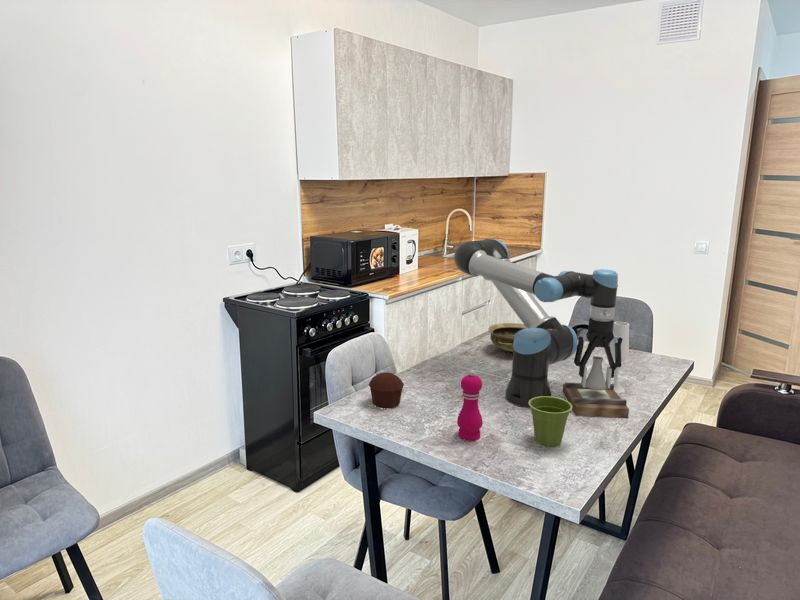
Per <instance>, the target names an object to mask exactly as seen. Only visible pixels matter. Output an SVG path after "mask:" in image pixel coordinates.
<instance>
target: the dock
mask: <svg viewBox="0 0 800 600" xmlns="http://www.w3.org/2000/svg"><path fill="white" fill-rule="evenodd" d="M613 384H614V383H610V388H606V389H604V390H592V389H589V388H586V387H585V388H583V387H582V385H581V382H568V381H567V382H564V383H562V391H561V392H562V393H563V396H564V398H565V400H566V401H568V402H570V403H571V404H572V410H571V411H573V414H574V415H575V416H576V417H594V418H598V417H599V418H617V419H618V418H621V419H629V413H630V408H629V406H628V405H627V403H628V401H627V399H626V398H625V399H624V398H623V399H622V398H621V397H620V396H619V393H616V392H615V391H614V385H613Z"/></svg>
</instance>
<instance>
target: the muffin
mask: <svg viewBox="0 0 800 600" xmlns="http://www.w3.org/2000/svg"><path fill="white" fill-rule="evenodd" d="M368 386H369V388H370V396H371V401H372V405H374V407H375V408H378V407H379V408H380V409H382V408H383V410H384V408H385V410H386V408H389V409H395V408H397V407H399V405H400V403H401V399H402V395H403V394H402V393H403V388H404V386H405V384H404V382H403V380H402V379H401V378H400V377H399V376H398V375H396V374H394V373H392V372H389V371H387V372H379V373H377V374H376V375H373V377H372V378H371V379H370V381H369V383H368ZM396 406H397V407H396ZM379 408H378V409H379Z"/></svg>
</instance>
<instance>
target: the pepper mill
mask: <svg viewBox="0 0 800 600" xmlns="http://www.w3.org/2000/svg"><path fill="white" fill-rule="evenodd" d="M482 382H483V381H482V379H481V377H479V376H478V375H476V372H475V371H474V370H473V369H470V370H469V371H468V374H466V375H465V376H463V377H462V378H461V380H460V388H461V390H462V391H461V396H462V398H463V403H462V406H461V409H460V412H459V413H458V415H457V418H456V419H457V420H456V424H457V426H458V427H459V428H458V431H457V433H458V437H459V439H461V440H464V441H467V440H468V442H473V441H478V440H479V439H480V438H481V430H480V429H481V428H482V427H483V417H482V414H481V412H480V408H479V399H480V398H481V392H480V391H481V390H482V387H483V383H482ZM477 439H478V440H477Z"/></svg>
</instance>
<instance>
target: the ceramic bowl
mask: <svg viewBox="0 0 800 600" xmlns="http://www.w3.org/2000/svg"><path fill="white" fill-rule="evenodd" d="M526 328H527V327H526V326H525V325H524V323H515V322H502V323H501V322H500V323H494V324H492V325H490V326H489V327H488V331H489V333H490V340H491V342H492V343H493V344H494V345H495V346H496V347H497V348H499V349H502V350H503V351H505V353H506V352H507V353H506V354H508V353H509V354H508V355H511V354H512V355H511V356H513V342H514V337H515V334H516V333H517V332H518V331H520V330H522V329H526Z"/></svg>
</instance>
